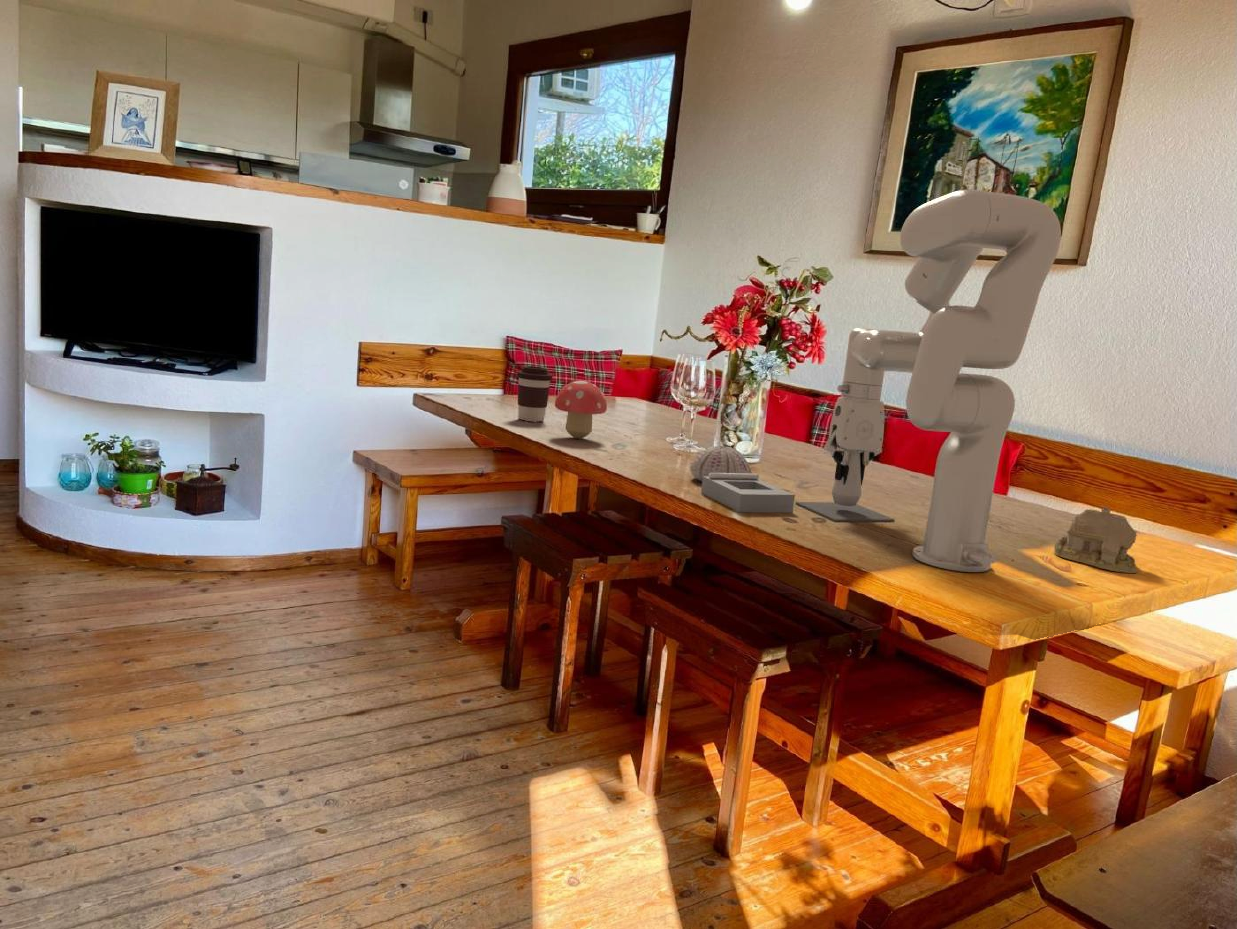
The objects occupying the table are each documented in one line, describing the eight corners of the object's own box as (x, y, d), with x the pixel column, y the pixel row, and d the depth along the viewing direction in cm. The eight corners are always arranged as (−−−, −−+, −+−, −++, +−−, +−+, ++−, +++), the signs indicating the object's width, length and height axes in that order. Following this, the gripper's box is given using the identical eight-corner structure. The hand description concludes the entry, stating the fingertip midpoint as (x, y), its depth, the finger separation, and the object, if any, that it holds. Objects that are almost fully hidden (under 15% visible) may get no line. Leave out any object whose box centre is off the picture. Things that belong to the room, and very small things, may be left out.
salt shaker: (859, 508, 197) (869, 443, 194) (830, 504, 198) (839, 439, 195) (859, 503, 202) (868, 439, 200) (830, 499, 203) (839, 435, 201)
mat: (894, 521, 197) (894, 519, 197) (834, 521, 191) (834, 519, 191) (852, 504, 209) (852, 502, 209) (795, 504, 204) (795, 502, 204)
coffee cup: (555, 422, 284) (560, 369, 282) (534, 424, 276) (539, 370, 273) (527, 416, 289) (531, 364, 287) (506, 418, 281) (510, 365, 278)
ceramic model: (1142, 566, 181) (1153, 512, 179) (1133, 577, 172) (1144, 521, 170) (1059, 548, 188) (1069, 496, 187) (1046, 558, 179) (1056, 504, 177)
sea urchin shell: (736, 477, 228) (740, 442, 226) (759, 490, 215) (763, 454, 213) (680, 474, 224) (684, 439, 223) (700, 488, 211) (705, 450, 210)
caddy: (792, 512, 196) (795, 488, 195) (738, 512, 191) (741, 488, 190) (752, 493, 210) (754, 471, 209) (701, 492, 206) (703, 470, 205)
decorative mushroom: (541, 434, 259) (546, 377, 257) (580, 433, 268) (586, 377, 266) (574, 444, 250) (579, 384, 247) (614, 442, 259) (620, 384, 256)
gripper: (837, 392, 190) (824, 487, 193) (907, 397, 196) (893, 488, 199) (815, 387, 196) (802, 479, 200) (883, 391, 203) (870, 480, 206)
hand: (848, 483), depth 199 cm, fingers closed on salt shaker, 3 cm apart
